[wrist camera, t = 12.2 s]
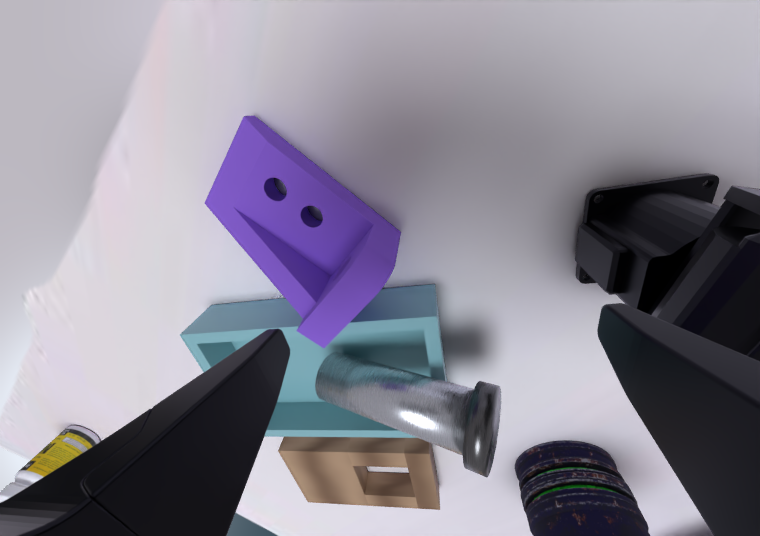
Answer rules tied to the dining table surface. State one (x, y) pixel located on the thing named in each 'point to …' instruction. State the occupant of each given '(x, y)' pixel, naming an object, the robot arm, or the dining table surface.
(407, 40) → the dining table surface
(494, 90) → the dining table surface
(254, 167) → the bracket
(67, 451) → the supplement bottle
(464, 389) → the pin
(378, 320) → the tray
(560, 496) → the storage jar
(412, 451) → the block
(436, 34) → the dining table surface
